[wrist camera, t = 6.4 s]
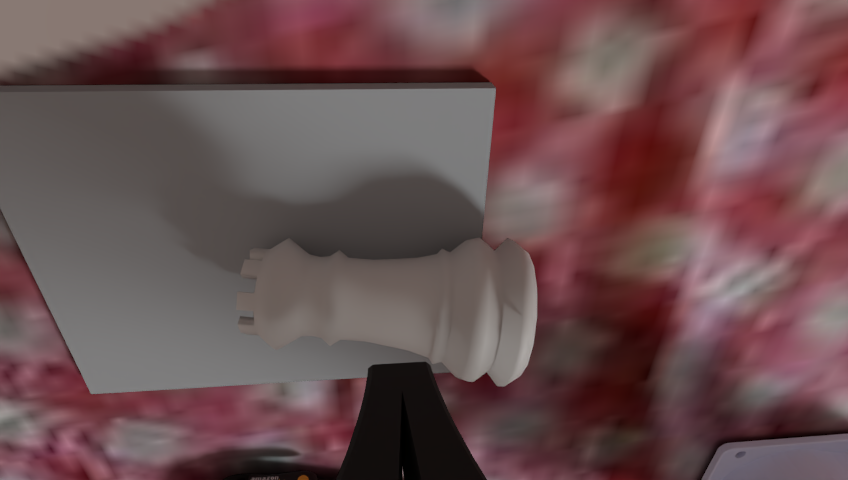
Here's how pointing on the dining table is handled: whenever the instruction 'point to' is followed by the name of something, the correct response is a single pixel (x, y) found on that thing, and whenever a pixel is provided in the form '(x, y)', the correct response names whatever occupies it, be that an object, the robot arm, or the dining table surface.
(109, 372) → the slate mat
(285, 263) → the rook chess piece
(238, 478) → the carrying case or bag
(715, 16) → the dining table surface
